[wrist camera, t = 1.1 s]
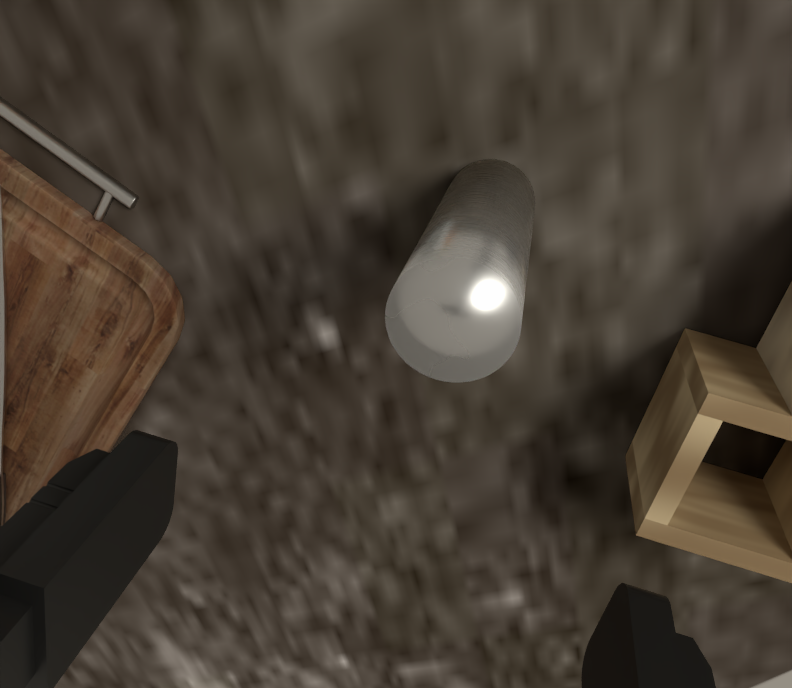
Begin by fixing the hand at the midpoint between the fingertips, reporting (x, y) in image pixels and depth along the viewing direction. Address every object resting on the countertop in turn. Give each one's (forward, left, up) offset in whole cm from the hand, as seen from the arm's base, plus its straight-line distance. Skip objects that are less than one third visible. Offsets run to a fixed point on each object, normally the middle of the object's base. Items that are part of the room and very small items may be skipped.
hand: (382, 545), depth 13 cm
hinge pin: (0, 0, -22) cm, 22 cm away
